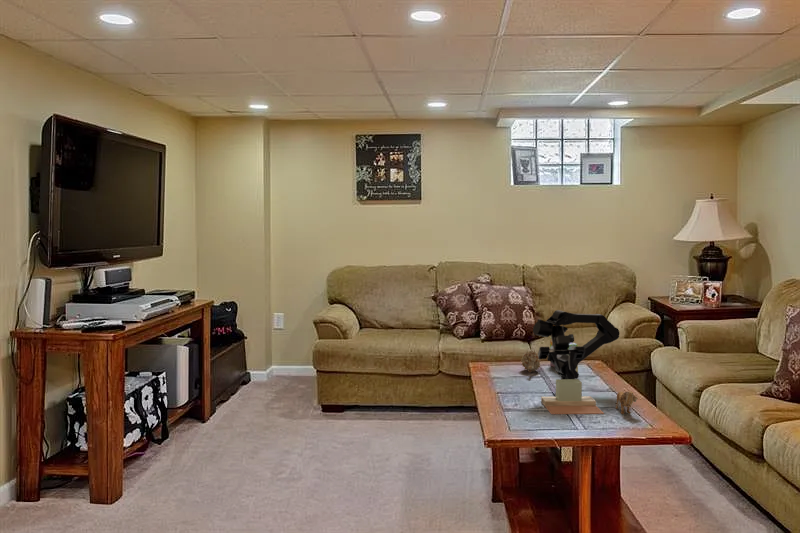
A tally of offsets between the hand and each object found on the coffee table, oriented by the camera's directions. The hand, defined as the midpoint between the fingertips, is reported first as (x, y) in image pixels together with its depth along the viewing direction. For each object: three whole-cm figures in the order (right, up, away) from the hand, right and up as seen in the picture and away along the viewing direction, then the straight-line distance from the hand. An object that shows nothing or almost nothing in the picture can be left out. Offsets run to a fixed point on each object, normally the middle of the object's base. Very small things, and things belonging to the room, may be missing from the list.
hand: (565, 370), depth 249 cm
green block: (0, -11, -5) cm, 12 cm away
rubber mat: (0, -13, -13) cm, 19 cm away
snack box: (+14, -9, +54) cm, 56 cm away
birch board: (0, -13, -4) cm, 14 cm away
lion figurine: (+19, -14, -14) cm, 27 cm away
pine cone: (-3, -10, +48) cm, 49 cm away
